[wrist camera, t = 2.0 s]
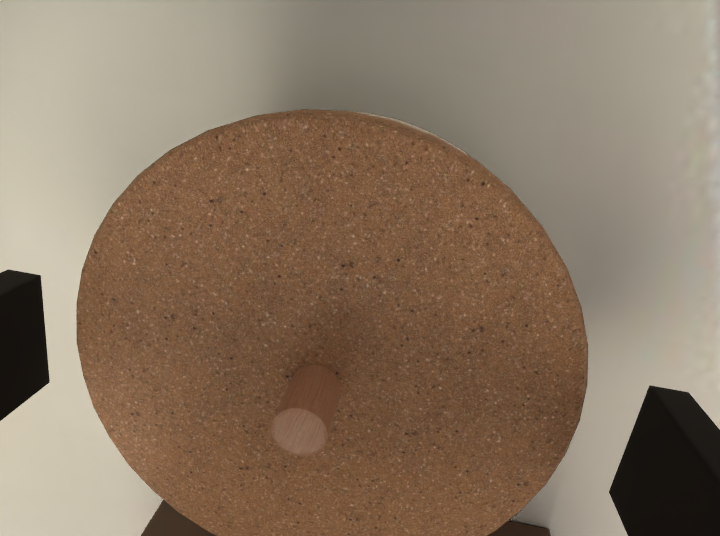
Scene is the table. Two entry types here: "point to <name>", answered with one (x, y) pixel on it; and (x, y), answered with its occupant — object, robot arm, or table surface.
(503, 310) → the trinket box
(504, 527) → the bookshelf
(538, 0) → the table surface
